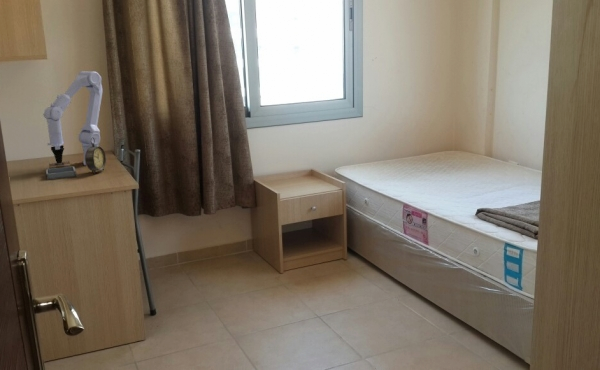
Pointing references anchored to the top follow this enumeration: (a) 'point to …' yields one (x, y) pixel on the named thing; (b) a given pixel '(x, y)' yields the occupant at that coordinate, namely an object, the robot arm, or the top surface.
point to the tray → (60, 173)
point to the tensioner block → (54, 165)
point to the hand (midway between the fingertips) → (59, 162)
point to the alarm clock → (95, 158)
